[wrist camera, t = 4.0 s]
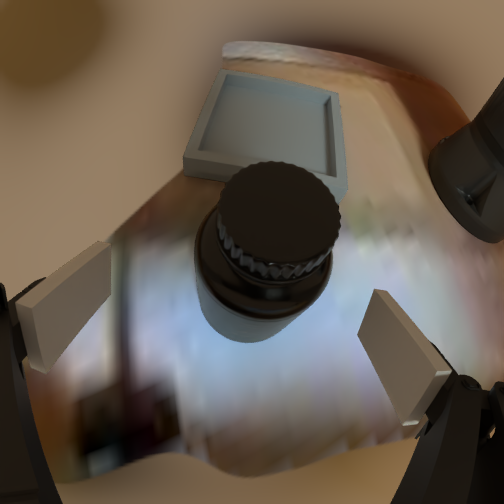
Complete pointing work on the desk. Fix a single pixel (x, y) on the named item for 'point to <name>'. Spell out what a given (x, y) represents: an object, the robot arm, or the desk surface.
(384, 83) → the desk surface
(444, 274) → the desk surface
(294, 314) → the supplement bottle
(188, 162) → the tray
